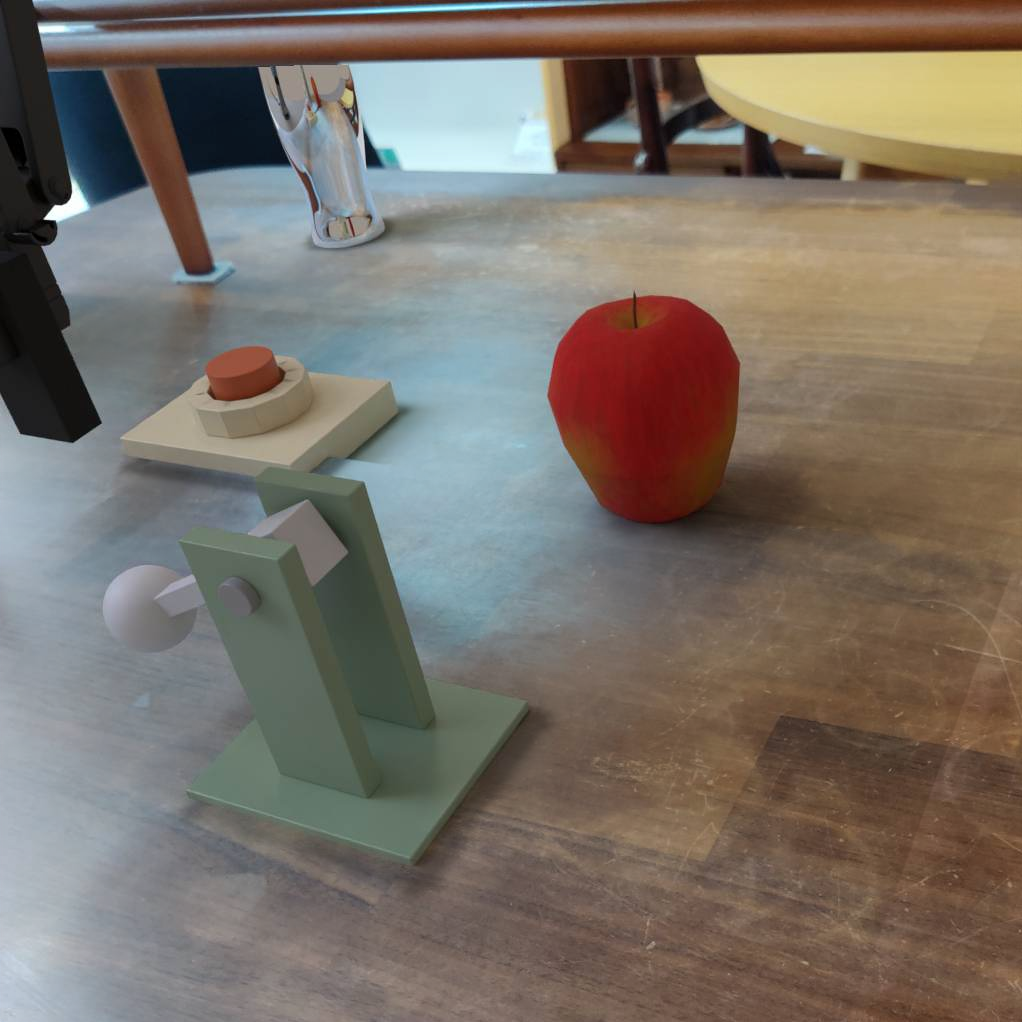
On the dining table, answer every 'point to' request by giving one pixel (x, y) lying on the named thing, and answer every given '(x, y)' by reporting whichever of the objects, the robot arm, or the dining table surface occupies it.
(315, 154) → the beer glass
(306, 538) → the tap lever
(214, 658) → the dining table surface
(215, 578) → the bracket
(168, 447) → the cream button base
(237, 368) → the button
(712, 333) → the apple
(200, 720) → the dining table surface
